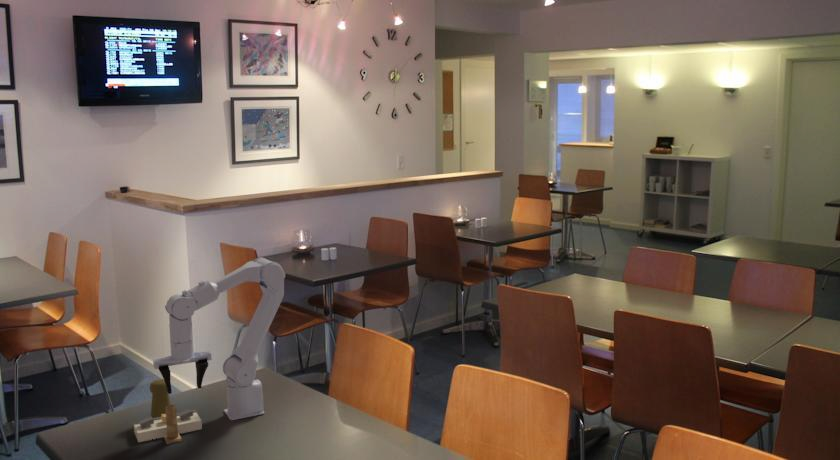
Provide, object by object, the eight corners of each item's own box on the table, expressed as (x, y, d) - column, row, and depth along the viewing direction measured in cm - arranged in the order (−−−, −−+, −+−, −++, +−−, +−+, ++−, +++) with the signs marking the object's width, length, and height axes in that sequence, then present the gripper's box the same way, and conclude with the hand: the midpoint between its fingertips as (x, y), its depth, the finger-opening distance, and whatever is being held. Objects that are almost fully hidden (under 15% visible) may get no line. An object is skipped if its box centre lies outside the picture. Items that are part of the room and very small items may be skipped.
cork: (166, 424, 199) (163, 385, 197) (146, 422, 200) (143, 384, 198) (177, 415, 205) (175, 377, 203) (158, 413, 206) (155, 376, 204)
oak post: (178, 435, 191) (176, 402, 190) (181, 441, 188) (179, 407, 187) (164, 438, 190) (162, 405, 188) (167, 444, 186) (164, 410, 185)
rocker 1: (152, 420, 193) (151, 416, 193) (154, 423, 191) (152, 419, 191) (140, 424, 192) (138, 420, 192) (141, 428, 190) (140, 424, 190)
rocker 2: (173, 418, 196) (173, 414, 196) (175, 421, 194) (175, 417, 194) (160, 418, 194) (161, 414, 194) (162, 421, 192) (163, 417, 192)
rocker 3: (191, 412, 198) (190, 408, 198) (193, 415, 196) (192, 411, 196) (179, 417, 197) (178, 413, 196) (181, 420, 195) (180, 416, 194)
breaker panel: (196, 419, 201) (195, 409, 201) (201, 429, 195) (201, 418, 195) (134, 432, 194) (133, 422, 193) (138, 442, 188) (137, 431, 187)
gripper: (155, 348, 186) (158, 399, 188) (213, 340, 193) (215, 389, 195) (150, 341, 192) (153, 391, 194) (206, 333, 199) (209, 381, 201)
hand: (184, 389), depth 195 cm, fingers open, 7 cm apart
